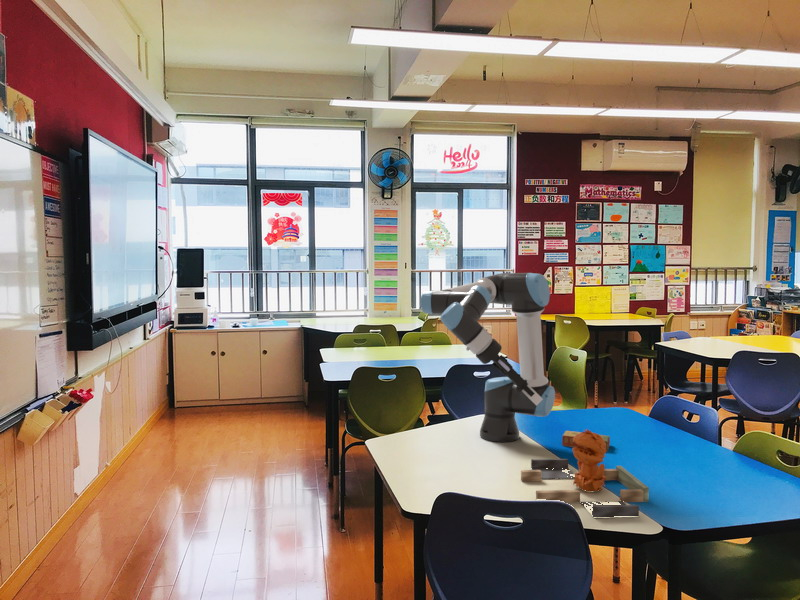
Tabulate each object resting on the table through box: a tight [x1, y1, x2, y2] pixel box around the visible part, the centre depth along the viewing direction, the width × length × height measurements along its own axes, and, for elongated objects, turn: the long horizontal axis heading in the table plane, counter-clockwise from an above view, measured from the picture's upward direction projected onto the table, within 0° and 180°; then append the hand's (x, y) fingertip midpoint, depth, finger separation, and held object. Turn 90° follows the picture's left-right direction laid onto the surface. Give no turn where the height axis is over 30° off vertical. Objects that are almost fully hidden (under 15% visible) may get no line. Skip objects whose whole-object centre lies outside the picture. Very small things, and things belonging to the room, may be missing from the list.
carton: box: [561, 430, 611, 453], centre depth 209 cm, size 8×16×4 cm, turn 65°
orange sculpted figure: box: [571, 428, 607, 492], centre depth 167 cm, size 11×11×18 cm
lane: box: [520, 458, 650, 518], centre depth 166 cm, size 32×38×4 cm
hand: (539, 401), depth 167 cm, fingers closed
